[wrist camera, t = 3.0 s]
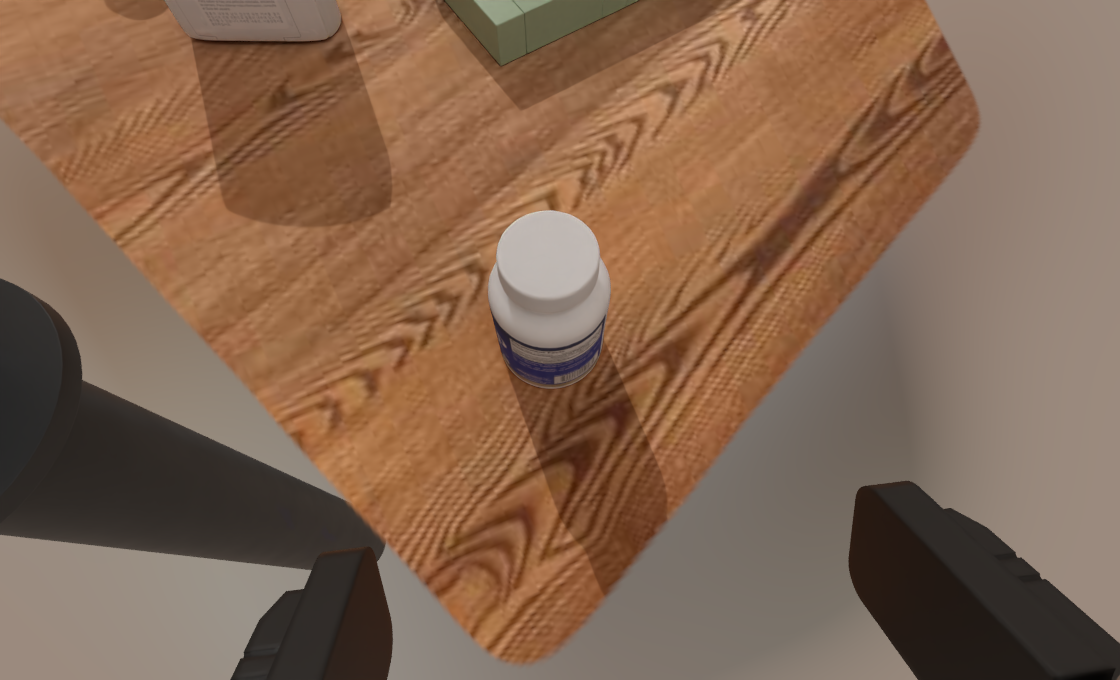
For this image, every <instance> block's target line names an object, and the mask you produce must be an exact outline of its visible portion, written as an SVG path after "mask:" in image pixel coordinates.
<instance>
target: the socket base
mask: <svg viewBox="0 0 1120 680" xmlns="http://www.w3.org/2000/svg"><path fill="white" fill-rule="evenodd" d="M445 1H446V3H447V4H448V5H449V6H450V7H451V8H452V10H453V11H454V12H455V13H456V14H457V15H458V17H459V18H460V19H461V20H462V21H463V22H464V24H465V25H466V26H467V27H468V28H469V29H470V31H471V32H472V33H473V34H474V35H475V36H476V38H477V39H478V40H479V41H480V42H481V43H482V45H483V46H484V47H485V48H486V49H487V50H488V52H489V53H490V54H491V55H492V56H493V57H494V59H495V60H496V61H497V62H498V63H499V65H500V66H502V65H504V64H506V63H509V62H511V61H513V60H515V59H517V58H519V57H521V56H523V55H525V54H526V53H527V54H528V53H530V52H532V51H534V50H536V49H538V48H540V47H542V46H544V45H547V44H549V43H551V42H553V41H555V40H557V39H559V38H561V37H563V36H565V35H567V34H570V33H572V32H574V31H576V30H578V29H580V28H582V27H584V26H586V25H588V24H590V23H593V22H595V21H597V20H599V19H601V18H603V17H605V16H608V15H610V14H612V13H614V12H616V11H618V10H620V9H622V8H624V7H625V6H628V5H630V4H632V3H634V2H637V1H639V0H445Z"/></svg>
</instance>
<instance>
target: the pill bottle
mask: <svg viewBox="0 0 1120 680" xmlns="http://www.w3.org/2000/svg"><path fill="white" fill-rule="evenodd" d="M496 259H497V262H496V263H495V265H494V267H493V269H492V272H491V274H490V278H489V283H488V299H489V304H490V309H491V313H492V316H493V321H494V325H495V329H496V333H497V337H498V341H499V345H500V349H501V352H502V355H503V358H504V360H505V362H506V364H507V366H508V367H509V369H510V370H511V371H512V372H513V373H514V374H515V375H516V376H517V377H518V378H520V379H521V380H523V381H524V382H526V383H528V384H530V385H533V386H536V387H540V388H547V389H555V388H562V387H566V386H569V385H572V384H574V383H576V382H578V381H579V380H581V379H582V378H584V377H585V376H586V375H587V374H588V373H589V372H590V371H591V370H592V369H593V367H594V366H595V364H596V362H597V361H598V358H599V356H600V353H601V349H602V344H603V336H604V329H605V322H606V317H607V312H608V307H609V301H610V293H611V285H610V278H609V274H608V271H607V269H606V267H605V265H604V263H603V261H602V259H601V258H600V251H599V246H598V242H597V240H596V238H595V235H594V234H593V233H592V231H591V230H590V228H589V227H588V226H587V225H586V224H585V223H583V222H582V221H581V220H579V219H578V218H576V217H574V216H572V215H570V214H567V213H563V212H558V211H538V212H534V213H530V214H527V215H525V216H523V217H521V218H519V219H517V220H516V221H515V222H513V223H512V224H511V225H510V226H509V227H508V228H507V229H506V230H505V232H504V233H503V235H502V236H501V238H500V241H499V243H498V247H497V253H496Z"/></svg>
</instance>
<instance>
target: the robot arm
mask: <svg viewBox="0 0 1120 680" xmlns="http://www.w3.org/2000/svg"><path fill="white" fill-rule="evenodd" d="M849 571H850V576H851V579H852V583H853V585H854V588H855V590H856V592H857V594H858V596H859V598H860V599H861V601H862V602H863V604H864V605H865V607H866V608H867V609H868V611H869V612H870V613H871V615H872V616H873V618H874V619H875V620H876V622H877V623H878V624H879V626H880V627H881V629H882V630H883V631H884V633H885V634H886V636H887V637H888V639H889V640H890V641H891V643H892V644H893V646H894V647H895V648H896V650H897V651H898V652H899V654H900V655H901V656H902V658H903V659H904V661H905V662H906V664H907V665H908V666H909V667H910V669H911V671H912V672H913V673H914V675H915V676H916V678H917V679H918V680H1120V643H1118V642H1117V641H1116V640H1115V639H1114V638H1113V637H1112V636H1110V635H1109V634H1108V633H1107V632H1106V631H1105V630H1104V629H1102V628H1101V627H1100V626H1099V625H1098V624H1097V623H1096V622H1094V621H1093V620H1092V619H1091V618H1090V617H1089V616H1087V615H1086V614H1085V613H1084V612H1083V611H1082V610H1081V609H1080V608H1078V607H1077V606H1076V605H1075V604H1074V603H1073V602H1071V601H1070V600H1069V599H1068V598H1067V597H1066V596H1065V595H1063V594H1062V593H1061V592H1060V591H1059V590H1058V589H1057V588H1056V587H1054V586H1053V585H1052V584H1051V583H1050V582H1049V581H1047V580H1046V579H1044V580H1042V579H1041V577H1040V573H1038V572H1037V571H1036V570H1035V569H1034V568H1033V567H1032V566H1030V565H1029V564H1028V563H1027V562H1026V561H1025V560H1024V559H1022V558H1017V556H1016V554H1015V552H1014V551H1013V550H1012V549H1011V548H1010V547H1009V546H1008V545H1006V544H1005V543H1004V542H1003V541H1002V540H1001V539H1000V538H998V537H997V536H996V535H995V534H994V533H992V531H990V530H989V529H988V528H987V527H985V526H983V525H981V524H979V523H978V522H976V521H974V520H972V519H970V518H968V517H966V516H964V515H962V514H961V513H959V512H957V511H955V510H953V509H951V508H948V509H943V508H941V507H940V506H939V505H938V504H937V503H936V502H935V501H934V500H933V499H932V498H931V497H930V496H928V495H927V494H926V493H925V492H924V491H923V490H922V489H921V488H920V487H919V486H917V485H916V484H914V483H913V482H910V481H901V482H893V483H886V484H878V485H869V486H863V487H861V488H860V489H859V490H858V492H857V494H856V499H855V508H854V516H853V525H852V533H851V542H850V551H849ZM392 635H393V634H392V623H391V617H390V613H389V609H388V605H387V601H386V597H385V593H384V589H383V585H382V581H381V577H380V573H379V569H378V566H377V561H376V557H375V554H374V552H373V550H372V548H370V547H362V548H354V549H346V550H338V551H330V552H323V553H321V554H320V555H319V556H318V558H317V560H316V562H315V564H314V566H313V569H312V571H311V574H310V576H309V578H308V581H307V583H306V585H305V588H304V589H301V590H293V591H286V592H285V593H284V594H283V595H282V596H281V597H280V598H279V600H278V601H277V602H276V603H275V604H274V605H273V606H272V607H271V608H270V609H269V610H268V611H267V613H265V615H264V616H263V617H262V618H261V619H260V620H259V622H258V624H257V626H256V628H255V630H254V632H253V634H252V636H251V638H250V640H249V643H248V645H247V647H246V649H245V651H244V658H242V659H240V661H239V663H238V665H237V667H236V669H235V672H234V673H233V676H232V678H231V680H387V677H388V672H389V667H390V663H391V657H392V644H393V637H392Z"/></svg>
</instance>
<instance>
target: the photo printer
mask: <svg viewBox="0 0 1120 680" xmlns="http://www.w3.org/2000/svg"><path fill="white" fill-rule="evenodd" d="M164 1H165V2H166V4H167V6H168V7H169V9H170V11H171V12H172V13H173V15H174V17H175V18H176V20H177V21H178V23H179V24H180V26H181V27H182V29H183V30H184V31H185V33H186V34H187V35H188V36H190V37H192V38H195V39H202V40H215V41H217V40H221V41H316V40H324V39H327V38H328V37H331V36H333V35H334V34H335V33H336V31H337V30H338V28H339V26H340V24H341V13H340V11H339V8H338V5H337V2H336V0H164Z"/></svg>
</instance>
